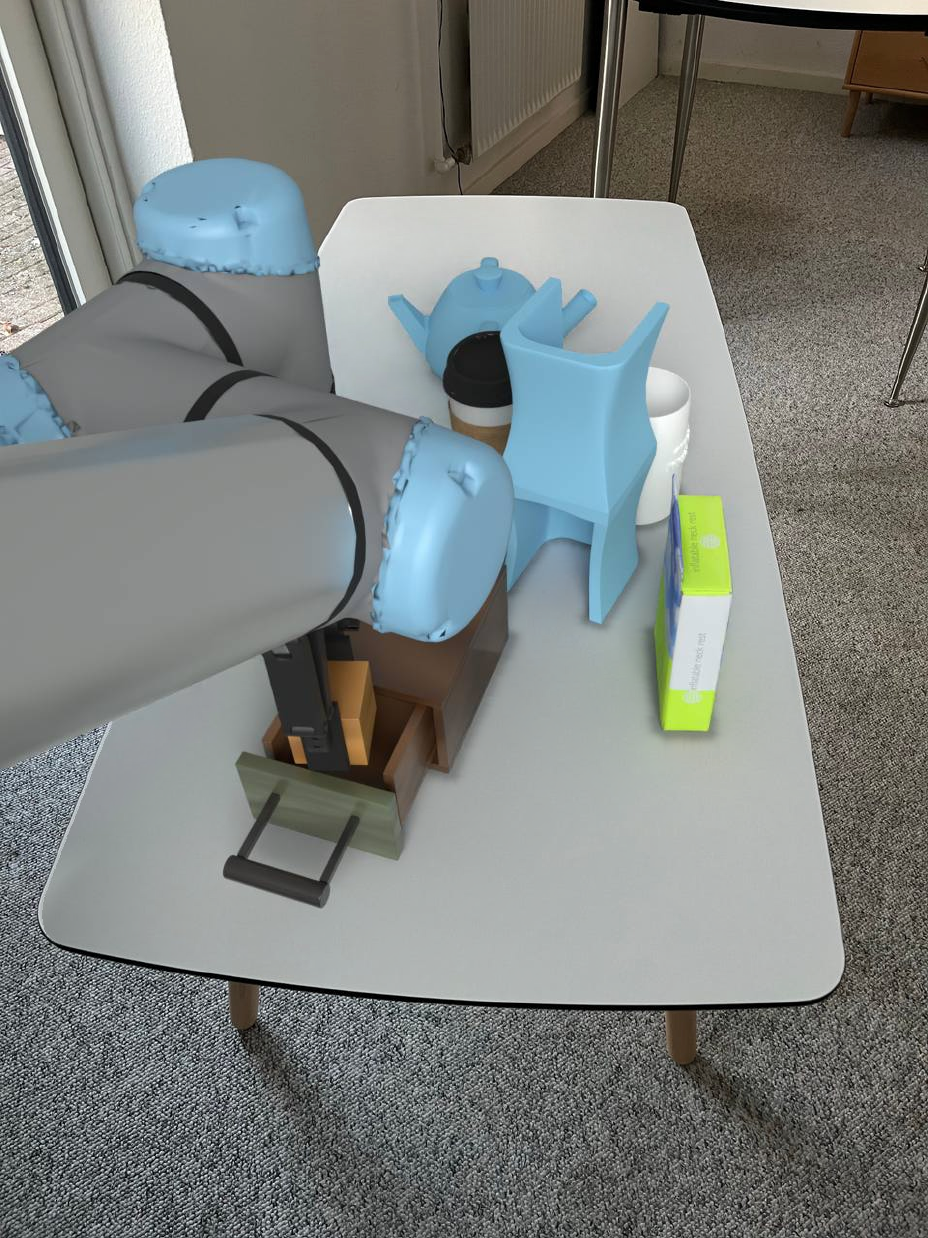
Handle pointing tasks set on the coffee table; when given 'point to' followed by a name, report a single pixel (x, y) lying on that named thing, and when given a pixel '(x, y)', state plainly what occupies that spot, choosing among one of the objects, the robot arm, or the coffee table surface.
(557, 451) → the blue doll chair
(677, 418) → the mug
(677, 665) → the box
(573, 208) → the coffee table surface
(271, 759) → the drawer
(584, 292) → the teapot
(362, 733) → the block
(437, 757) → the cabinet
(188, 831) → the coffee table surface
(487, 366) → the coffee cup
